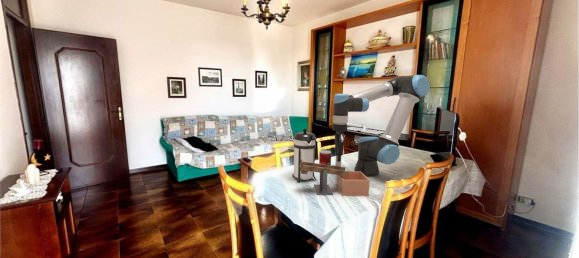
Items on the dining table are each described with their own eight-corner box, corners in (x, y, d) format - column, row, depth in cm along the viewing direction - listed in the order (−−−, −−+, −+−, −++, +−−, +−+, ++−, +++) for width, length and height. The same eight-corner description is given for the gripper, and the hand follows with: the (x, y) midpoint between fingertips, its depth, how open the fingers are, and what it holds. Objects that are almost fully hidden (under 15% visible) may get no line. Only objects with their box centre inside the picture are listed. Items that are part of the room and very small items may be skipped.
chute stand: (316, 194, 119) (317, 170, 117) (313, 186, 130) (314, 163, 128) (332, 194, 119) (333, 170, 117) (328, 186, 130) (329, 163, 128)
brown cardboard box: (359, 185, 132) (360, 171, 130) (368, 195, 119) (369, 180, 117) (336, 185, 131) (336, 171, 130) (342, 195, 118) (342, 180, 117)
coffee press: (321, 177, 144) (323, 127, 139) (308, 185, 130) (310, 131, 126) (297, 171, 153) (297, 125, 148) (282, 179, 140) (283, 128, 135)
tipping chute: (300, 173, 119) (302, 163, 118) (298, 165, 132) (300, 156, 131) (347, 180, 120) (349, 169, 119) (341, 171, 133) (342, 162, 132)
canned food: (328, 170, 157) (328, 153, 155) (317, 167, 161) (317, 152, 159) (332, 167, 163) (333, 151, 161) (321, 165, 167) (322, 149, 166)
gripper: (330, 121, 132) (328, 163, 136) (335, 125, 119) (333, 170, 123) (343, 121, 132) (341, 163, 136) (350, 125, 119) (348, 170, 123)
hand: (338, 166), depth 129 cm, fingers closed
